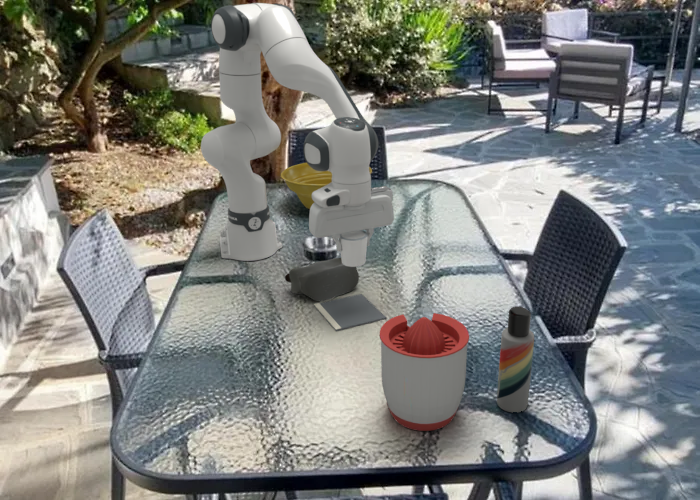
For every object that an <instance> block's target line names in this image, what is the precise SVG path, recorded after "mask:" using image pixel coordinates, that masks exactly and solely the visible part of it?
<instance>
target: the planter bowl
mask: <svg viewBox="0 0 700 500" xmlns="http://www.w3.org/2000/svg"><path fill="white" fill-rule="evenodd" d="M369 172H370V175H371V174H373V169H372V167H370V166H369ZM280 178H282V179H283V181H285V184H286V186H287V187H288V190H290V191H292V192H294V193H295V194H296V196H297V197H298V199H299V201H300V202H301V204H302V205H303V206H304V208H305V209H309V210H310V208H311V206H312V204H313V203H315V202H314V201H313V200H312V193H313V192H314V191H316V190H318V189H320V188H322V187H324V186H326V185H328V184H329V183H331V182H332V173H331V172H330V171H316V170H314V169H313V168H311V167H310V166H309V165H308V164H307V162H303V163H299V164H295V165H292V166H289V167H287V168H285V169H284V170H282V171H281V173H280Z"/></svg>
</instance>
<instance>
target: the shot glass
mask: <svg viewBox="0 0 700 500" xmlns="http://www.w3.org/2000/svg"><path fill="white" fill-rule="evenodd" d="M367 238H368V234H367V233H366V230H360V231H354V232H349V233H344V234H340V238H338V240H339V241H340V243H341V244H342V251H340V258H341V260H342V264H343V265H345V266H349V267H356V268H357V267H361V266H363V265H365V264H366V259H367V247H368V246H367Z"/></svg>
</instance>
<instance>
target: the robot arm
mask: <svg viewBox="0 0 700 500" xmlns="http://www.w3.org/2000/svg"><path fill="white" fill-rule="evenodd" d="M210 23H211V24H210V26H211V27H210V28H211V35H212V38H213V40H214V42H215V44H216V45H218V47H219V56H218V57H219V58H218V75H219V77H218V79H219V94H220V95H219V97H220V100H221V102H222V104H223V105H225V106H226V107H227V108H229V109H230V110H232V111H233V114H234V117H235V122H234V123H230V124H225V125H221V126H218V127H216V128H214V129H211V130H210V131H208V132H207V133H204V135H203V137H202V138H201V142H200V150H201V154H202V157H203V159H204V160H205V161H206V162H207V163H208V164H209V166H211V167H213V168H215V169H216V170H217V171H218V172H219V174H220V175H221V177H222V179H223V180H224V184H225V188H226V194H227V201H228V209H227V219H228V220H227V222H226V223H225V225H224V227H225V229H220V231H219V233H220V238H219V249H220V256H221V258H222V259H230V260H231V259H232V260H236V261H245V262H249V261H259V260H264V259H266V258H268V257H272V256H273V255H275V253H276V252H278V250H280V249H282V248H283V243H282V242H281V241H279V240H278V236H277V235H278V234H277V229H276V222H274V221H273V220H272V219H270V213H271V212H270V211H271V210H270V206H269V204H268V199H267V198H268V197H267V188H266V187H267V186H266V181H265V179H264V178H263V177H262V176H260V175H259V174H257V173H255V172H253V169H252V166H251V161H253V160H256V159H258V158H263V157H265V156H267V155H269V154H271V153H273V152H274V151H276V150H278V148H279V146H280V144H281V142H282V133H281V130H280V128H279V126H278V124H277V123H276V122H275V121H274V120H272V118H270V117H269V115H268V114H267V111H266V109H265V105H264V102H263V96H262V95H263V93H262V69H261V67H262V66H261V65H262V63H261V53H262V56H263V59H264V60H265V63H266V65H267V68H268V70H269V72H270V74H271V75H272V78H274V80H275V81H276V83H278V84H279V85H280V86H283V87H285V88H287V89H289V90H294V91H299V92H304V93H308V94H311V95H313V96H317V97H318V98H320V99H322V100H323V101H324V102H325V103H326V104H327V106H328V107H329V109H330V110H331V112H332V114H333V115H334V117H335V119H333V120H332V121H331V123H330V124H329V125H328V126H326V127H323V128H319V129H316V130H312V131H310V132H309V133H308V134H307V135H306V137H305V139H304V142H303V145H302V146H303V148H302V151H303V152H302V153H303V158H304V161H305V163H307V164H308V165H309V166H310V167H311V168H313V169H314V170H316V171H330V172H331V173H332V182H331V183H329V184H328V185H326V186H324V187H322V188H320V189H318V190H316V191H314V192H313V193H312V200H313V201H314V202H315V203H313V204H312V206H311V208H310V209H309V215H308V228H309V232H310V234H311V235H313V237H315V238H316V239H321V238H327V237H331V238H332V240H334V243H335V246H336V247H335V249H336V251H338V252H340V251H342V244H341V243H340V241H339V238H340V234H344V233H349V232H354V231H360V230H362V231H365V232H366V233H367V234H368V238H367V247H369V246H370V244H371V243H370V240H371V238H372V236H373V234H374V232H375V228H380V227H387V226H391V225H392V224H393V222H394V220H395V213H394V207H393V198H394V195H393V190H392V188H390V187H388V186H387V185H384V186H383V185H382V186H380V187H379V186H378V187H372V175H371V174H370V172H369V167H370V163H371V162H372V161H373V160H374V158H375V156H376V154H377V152H378V149H379V138H378V135H377V133H376V131H375V129H374V128H373V126H371V124H370V123H369V122H368V121H367V120H366V119H365V118H364V116H363V115H362V113H361V112H360V110H359V108H358V107H357V105H356V103H355V101H354V100H353V98H352V97H351V95H350V93H349V92H348V90H347V89H346V87H345V86H344V84H343V82H342V81H341V79H340V77H339V76H338V75H337V73H336V72H335V71H334V70H333V68H332V67H330V65H327V64H326V63H325V62H324V61H322V59H320V58H319V56H318V55H317V54H316V53H315V52H314V50H313V48H312V46H311V45H310V44H309V42H308V39H307V37H306V35H305V33H304V31H303V29H302V27H301V26H300V24H299V22H298V21H297V18H296V15H295V13H294V11H293V10H292V8H290V6H287V5H285V4H281V3H272V4H271V3H265V2H252V3H247V4H244V3H243V4H235V5H231V4H229V5H224V6H221V7H218V8H217V9H215V11H214V13H213V14H212V17H211V22H210ZM340 253H341V252H340Z"/></svg>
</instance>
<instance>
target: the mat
mask: <svg viewBox="0 0 700 500" xmlns="http://www.w3.org/2000/svg"><path fill="white" fill-rule="evenodd" d="M313 307H314V308H315V309H316V311H318V312H319V314H320V315H321V316H322V317H323V318H324V319H325V321H326V322H327V323H328V324H329V325H330V326H331V328H333V330H334V331H335V332H339V331H343V330H346V329H350V328H354V327H355V328H356V327H358V326H362V325H367V324H370V323H375V322H378V321H379V322H380V321H384V320H386V319H387V316H386V315H385V314H383V312H381V311H380V310H379V309H378V308H377V307H376V306H375V305H374V304H373V303H372V302H371V301H370V300H369V299H368V298H366V297H365V296H364V295H363V294H362V293H359V294H354V295H351V296H346V297H342V298H337V299H331V300H326V301H322V302H317V303H314V304H313Z"/></svg>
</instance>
